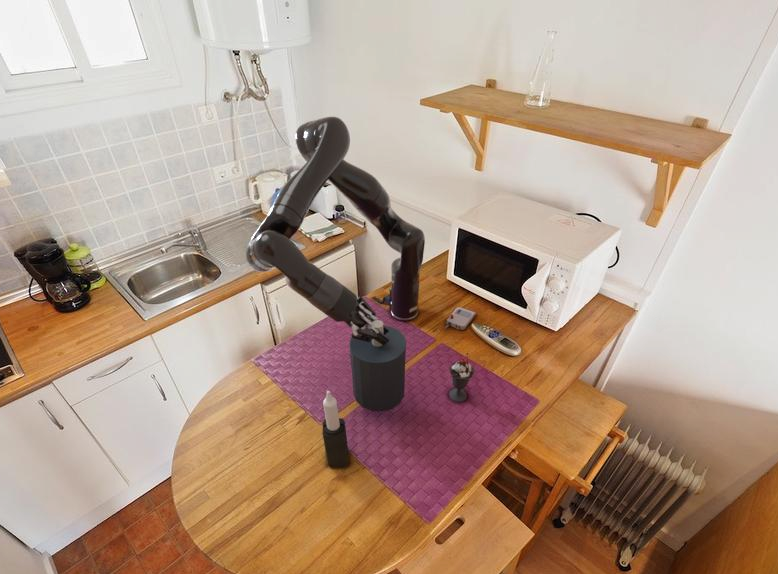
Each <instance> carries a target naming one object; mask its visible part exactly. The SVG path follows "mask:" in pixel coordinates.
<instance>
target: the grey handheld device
mask: <svg viewBox="0 0 778 574" xmlns="http://www.w3.org/2000/svg"><path fill="white" fill-rule="evenodd" d="M476 315H477V312H475V311H472V310H469V309H467V308H464V307H460V306H458V307H456V308H455V309H454V311H453V312H452V313H451V314H450V315H449V316H448V318H447V319H446V326H445V328H444V330H446V329H448V327H452V328H454V329H456V331H458V330H461V331H464V330H465V329H466V328H467V327H468V326H469V324H470V323H471V322H472V320H473V319H474V318H475V317H476Z"/></svg>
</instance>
